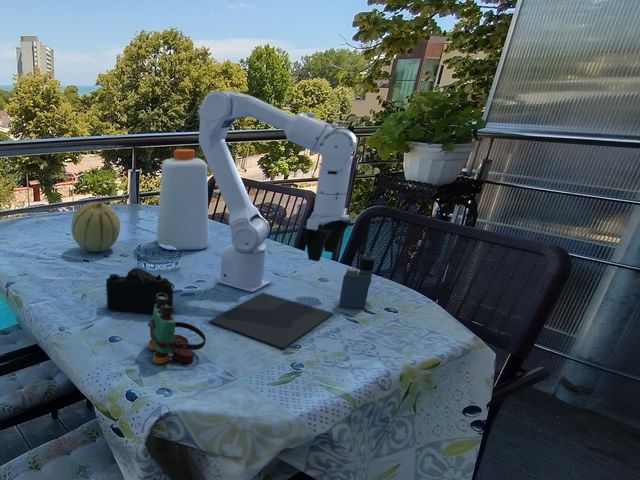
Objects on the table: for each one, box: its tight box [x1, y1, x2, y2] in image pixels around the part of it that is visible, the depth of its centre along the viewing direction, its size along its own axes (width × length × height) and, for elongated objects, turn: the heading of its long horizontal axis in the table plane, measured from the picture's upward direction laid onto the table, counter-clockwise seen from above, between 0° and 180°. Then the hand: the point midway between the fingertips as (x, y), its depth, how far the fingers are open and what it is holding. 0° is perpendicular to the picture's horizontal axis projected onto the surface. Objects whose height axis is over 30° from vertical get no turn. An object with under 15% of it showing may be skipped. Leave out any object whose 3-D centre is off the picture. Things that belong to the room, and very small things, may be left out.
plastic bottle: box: [156, 148, 210, 251], centre depth 138 cm, size 15×15×28 cm
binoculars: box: [147, 292, 207, 365], centre depth 81 cm, size 9×11×10 cm
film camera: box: [105, 267, 175, 316], centre depth 101 cm, size 15×10×9 cm, turn 71°
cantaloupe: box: [70, 201, 121, 253], centre depth 138 cm, size 15×15×15 cm
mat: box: [209, 292, 334, 351], centre depth 94 cm, size 16×20×1 cm
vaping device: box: [339, 250, 376, 309], centre depth 96 cm, size 3×5×12 cm, turn 78°
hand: (321, 255), depth 100 cm, fingers open, 7 cm apart
